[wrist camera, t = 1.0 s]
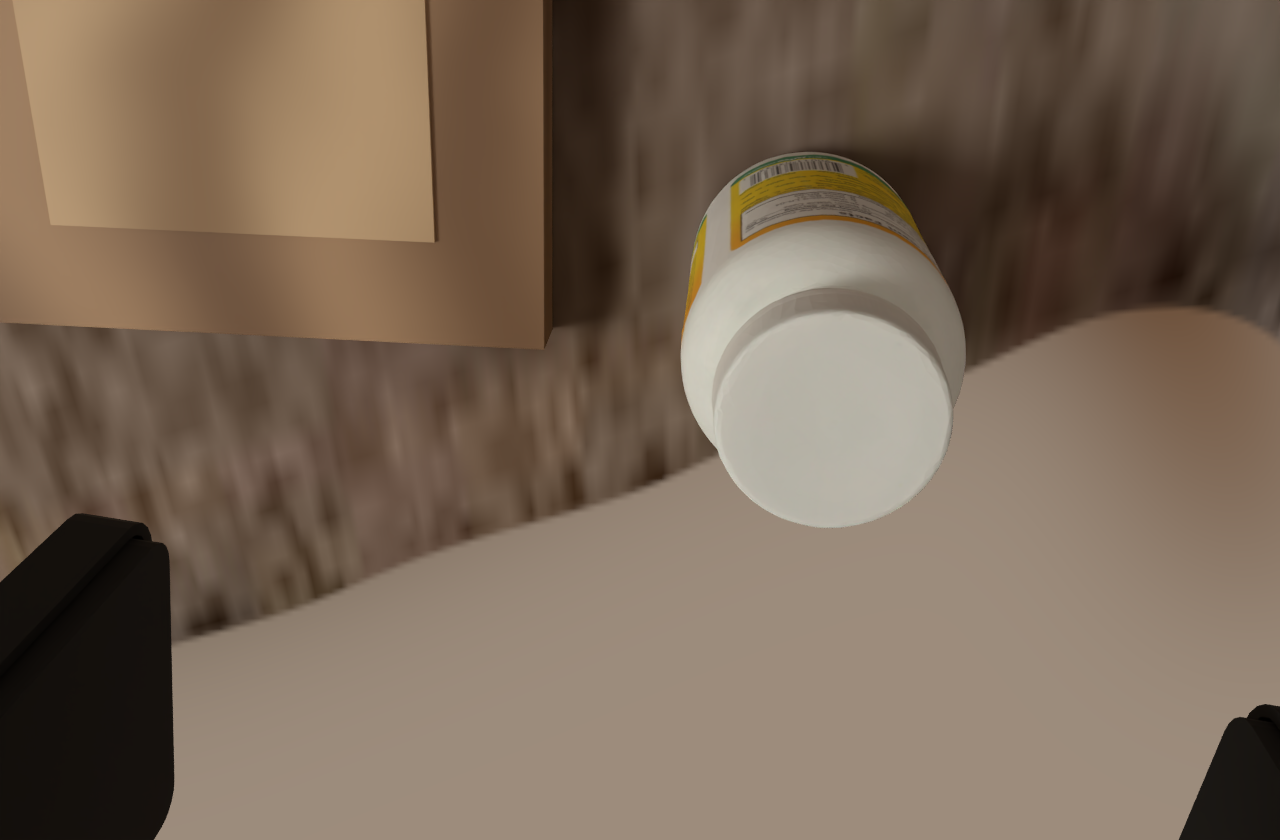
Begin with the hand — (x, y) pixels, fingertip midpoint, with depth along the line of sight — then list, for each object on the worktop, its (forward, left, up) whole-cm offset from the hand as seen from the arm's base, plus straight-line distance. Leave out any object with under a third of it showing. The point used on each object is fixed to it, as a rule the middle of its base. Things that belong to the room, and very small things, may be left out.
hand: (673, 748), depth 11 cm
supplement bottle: (-2, +1, -20) cm, 20 cm away
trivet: (+11, -4, -20) cm, 23 cm away
